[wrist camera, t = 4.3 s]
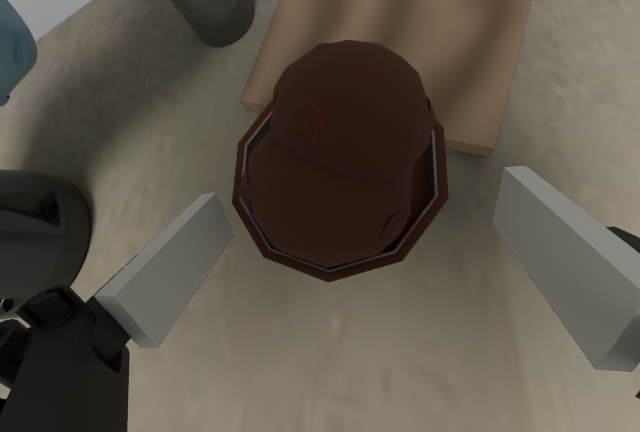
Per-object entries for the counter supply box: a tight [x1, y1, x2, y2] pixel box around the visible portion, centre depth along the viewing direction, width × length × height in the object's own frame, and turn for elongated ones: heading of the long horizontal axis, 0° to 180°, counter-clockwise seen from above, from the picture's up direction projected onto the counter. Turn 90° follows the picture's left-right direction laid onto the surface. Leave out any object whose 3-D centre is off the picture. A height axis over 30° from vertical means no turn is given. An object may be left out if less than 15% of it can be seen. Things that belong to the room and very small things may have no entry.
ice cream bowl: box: [232, 40, 448, 282], centre depth 15 cm, size 11×11×15 cm
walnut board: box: [240, 0, 532, 157], centre depth 24 cm, size 22×14×2 cm, turn 71°
